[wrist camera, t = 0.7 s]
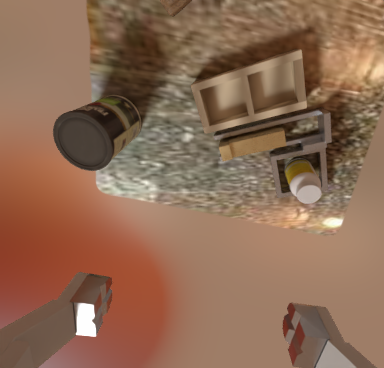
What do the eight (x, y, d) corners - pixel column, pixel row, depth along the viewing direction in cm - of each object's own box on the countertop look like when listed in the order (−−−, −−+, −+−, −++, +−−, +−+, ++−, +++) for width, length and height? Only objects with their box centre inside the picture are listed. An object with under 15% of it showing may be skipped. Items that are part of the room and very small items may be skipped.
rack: (296, 49, 40) (301, 49, 36) (301, 102, 44) (306, 107, 40) (194, 82, 45) (190, 85, 42) (207, 127, 49) (205, 133, 46)
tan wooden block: (280, 124, 46) (285, 131, 42) (282, 138, 48) (287, 147, 44) (220, 138, 50) (218, 147, 46) (223, 151, 51) (222, 161, 47)
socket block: (323, 107, 44) (330, 112, 40) (327, 184, 51) (334, 194, 48) (214, 134, 50) (212, 141, 46) (232, 200, 57) (232, 210, 54)
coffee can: (90, 94, 49) (44, 110, 38) (138, 94, 48) (105, 112, 36) (101, 141, 55) (62, 169, 43) (144, 143, 53) (117, 173, 41)
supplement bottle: (278, 170, 51) (286, 194, 43) (299, 152, 49) (311, 175, 40) (296, 184, 52) (307, 212, 44) (317, 168, 50) (333, 193, 41)
